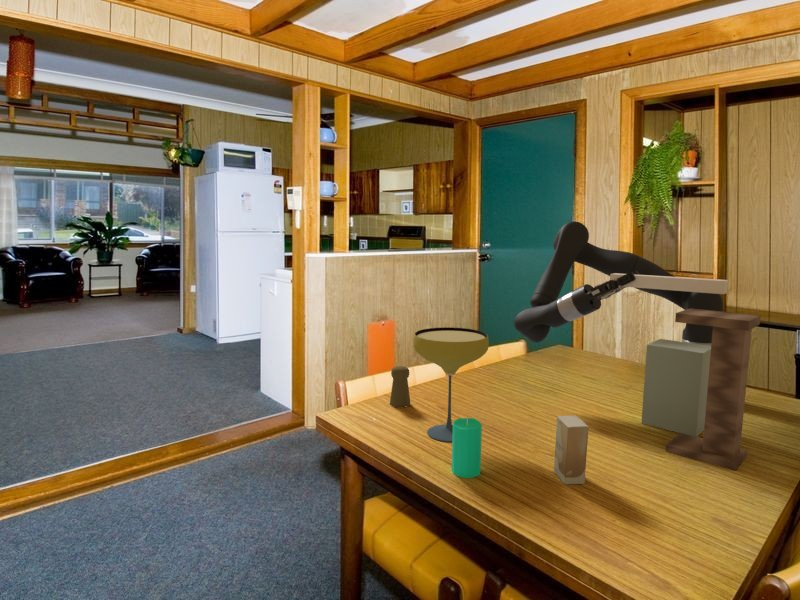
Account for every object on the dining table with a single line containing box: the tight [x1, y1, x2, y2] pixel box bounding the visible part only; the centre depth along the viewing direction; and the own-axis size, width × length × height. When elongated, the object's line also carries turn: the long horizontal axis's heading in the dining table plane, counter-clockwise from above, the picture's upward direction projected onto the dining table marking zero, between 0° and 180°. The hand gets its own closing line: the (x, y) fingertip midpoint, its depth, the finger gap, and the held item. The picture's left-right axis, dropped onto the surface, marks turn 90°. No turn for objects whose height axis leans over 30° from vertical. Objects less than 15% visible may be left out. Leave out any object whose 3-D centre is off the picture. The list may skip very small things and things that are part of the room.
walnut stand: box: [665, 308, 761, 471], centre depth 120 cm, size 14×10×32 cm
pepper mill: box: [389, 365, 411, 408], centre depth 154 cm, size 6×6×11 cm
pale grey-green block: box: [641, 338, 711, 437], centre depth 138 cm, size 13×10×21 cm
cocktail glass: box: [412, 326, 490, 443], centre depth 131 cm, size 18×18×25 cm
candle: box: [451, 415, 483, 479], centre depth 112 cm, size 6×6×12 cm
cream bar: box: [609, 273, 729, 295], centre depth 131 cm, size 26×3×3 cm, turn 47°
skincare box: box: [553, 415, 589, 485], centre depth 109 cm, size 6×4×12 cm
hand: (636, 275), depth 136 cm, fingers closed on cream bar, 3 cm apart
